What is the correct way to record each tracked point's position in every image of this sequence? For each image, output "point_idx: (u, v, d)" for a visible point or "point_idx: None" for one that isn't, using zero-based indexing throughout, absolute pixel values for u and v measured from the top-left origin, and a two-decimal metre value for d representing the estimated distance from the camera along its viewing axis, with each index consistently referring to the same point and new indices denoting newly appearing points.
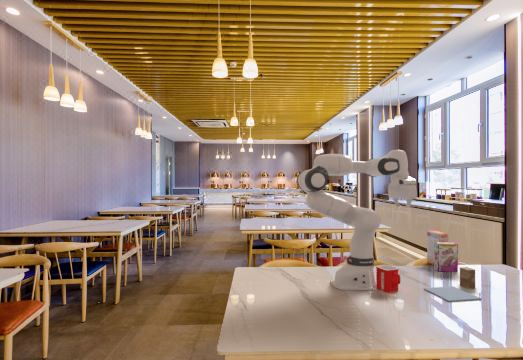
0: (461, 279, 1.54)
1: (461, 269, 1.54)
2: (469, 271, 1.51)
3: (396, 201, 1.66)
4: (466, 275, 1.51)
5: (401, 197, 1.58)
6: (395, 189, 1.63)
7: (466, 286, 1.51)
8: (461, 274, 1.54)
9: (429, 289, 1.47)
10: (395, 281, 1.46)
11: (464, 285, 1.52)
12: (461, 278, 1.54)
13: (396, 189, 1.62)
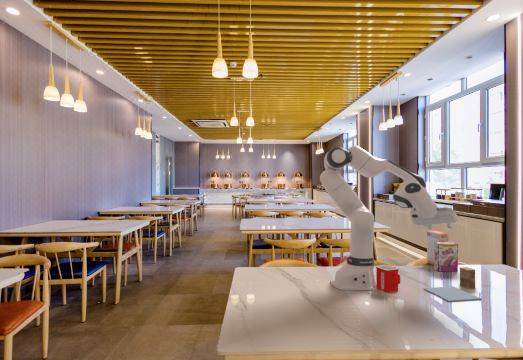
0: (461, 279, 1.54)
1: (461, 269, 1.54)
2: (469, 271, 1.51)
3: None
4: (466, 275, 1.51)
5: None
6: None
7: (466, 286, 1.51)
8: (461, 274, 1.54)
9: (429, 289, 1.47)
10: (395, 281, 1.46)
11: (464, 285, 1.52)
12: (461, 278, 1.54)
13: None
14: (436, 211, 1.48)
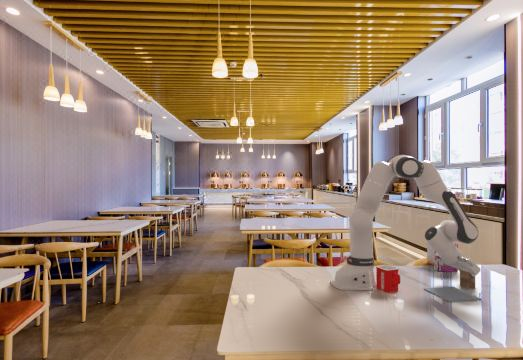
0: (461, 279, 1.54)
1: None
2: None
3: None
4: (466, 275, 1.51)
5: None
6: None
7: (466, 286, 1.51)
8: (461, 274, 1.54)
9: (429, 289, 1.47)
10: (395, 281, 1.46)
11: (464, 285, 1.52)
12: (461, 278, 1.54)
13: None
14: (456, 259, 1.48)
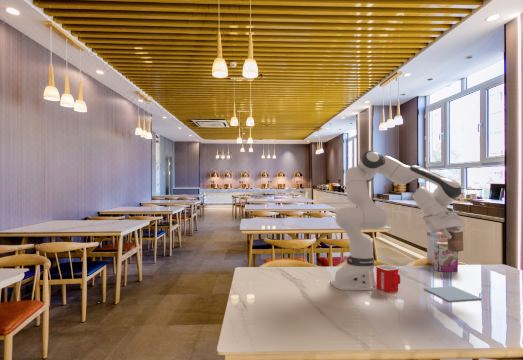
0: None
1: None
2: (449, 232, 1.45)
3: None
4: None
5: (454, 225, 1.47)
6: (441, 219, 1.48)
7: None
8: None
9: (429, 289, 1.47)
10: (395, 281, 1.46)
11: None
12: None
13: (442, 219, 1.48)
14: None
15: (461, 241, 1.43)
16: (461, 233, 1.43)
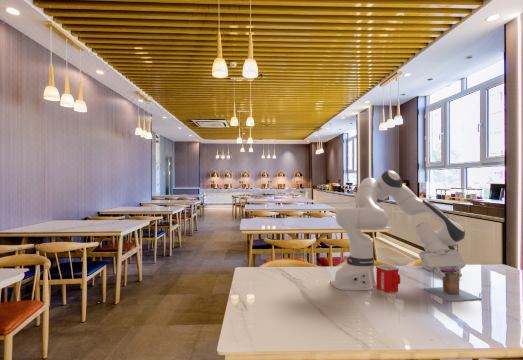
0: None
1: None
2: None
3: None
4: None
5: (452, 264, 1.45)
6: (438, 257, 1.47)
7: None
8: None
9: (429, 289, 1.47)
10: (395, 281, 1.46)
11: None
12: None
13: (439, 257, 1.47)
14: None
15: (456, 284, 1.41)
16: (457, 276, 1.41)
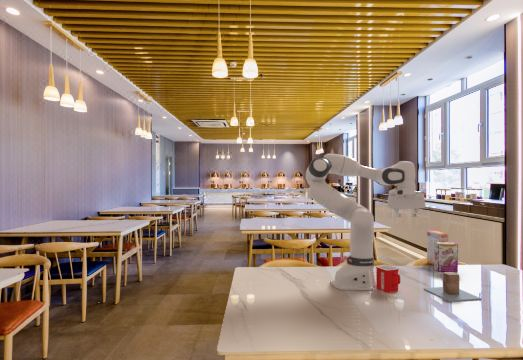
0: None
1: None
2: (444, 274, 1.44)
3: (415, 211, 1.67)
4: None
5: None
6: None
7: None
8: None
9: (429, 289, 1.47)
10: (395, 281, 1.46)
11: None
12: None
13: None
14: None
15: (456, 284, 1.41)
16: (457, 276, 1.41)
